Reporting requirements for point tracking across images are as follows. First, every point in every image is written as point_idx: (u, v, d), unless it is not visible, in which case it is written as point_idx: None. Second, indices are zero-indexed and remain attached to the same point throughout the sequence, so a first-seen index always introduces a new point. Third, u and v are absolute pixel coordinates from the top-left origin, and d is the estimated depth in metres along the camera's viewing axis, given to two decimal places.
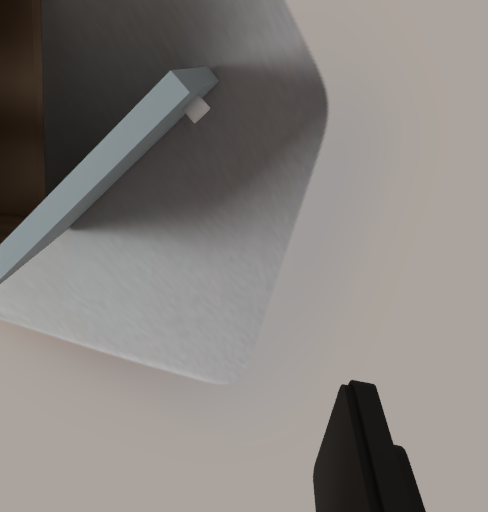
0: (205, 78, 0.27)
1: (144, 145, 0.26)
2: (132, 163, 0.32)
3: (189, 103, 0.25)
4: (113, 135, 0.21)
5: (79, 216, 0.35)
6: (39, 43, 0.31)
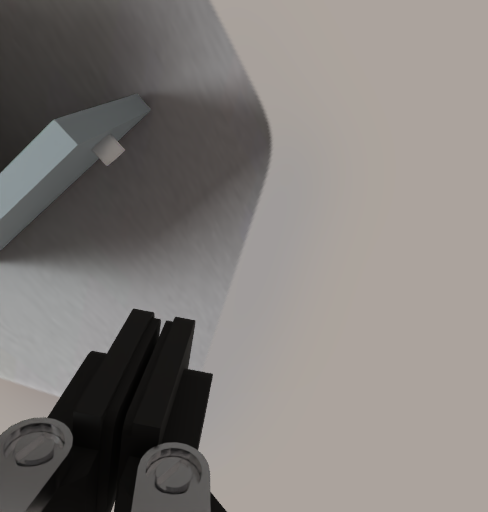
0: (123, 113, 0.24)
1: (50, 188, 0.23)
2: (53, 197, 0.29)
3: (98, 145, 0.22)
4: None
5: (1, 248, 0.32)
6: None
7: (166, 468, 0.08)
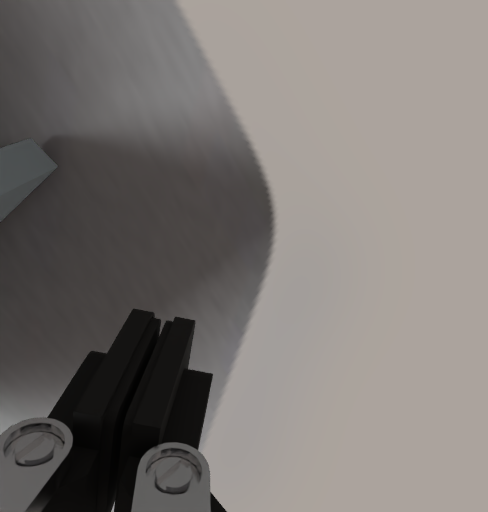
0: None
1: None
2: None
3: None
4: None
5: None
6: None
7: (166, 468, 0.08)
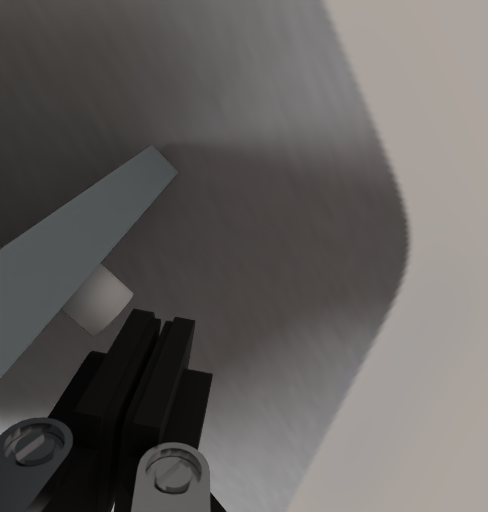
0: (127, 203, 0.11)
1: None
2: None
3: None
4: None
5: None
6: None
7: (166, 468, 0.08)
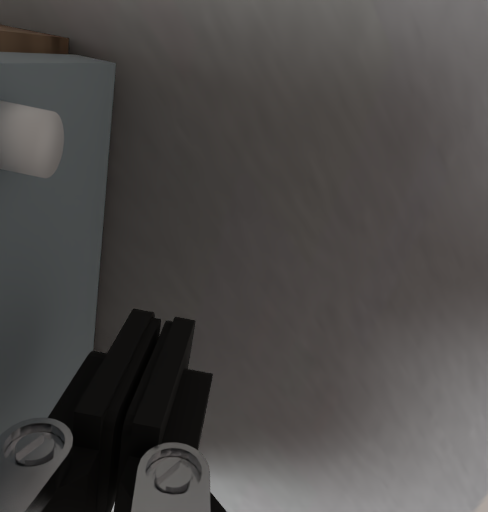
0: (24, 58, 0.10)
1: None
2: (76, 317, 0.15)
3: None
4: None
5: None
6: None
7: (166, 468, 0.08)
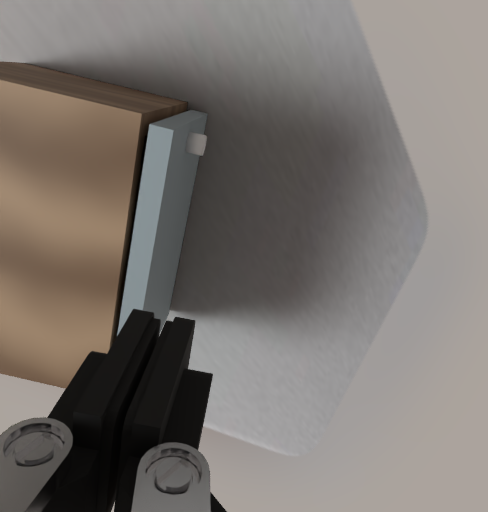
0: (190, 117, 0.29)
1: (176, 199, 0.28)
2: (183, 222, 0.34)
3: (187, 142, 0.27)
4: (141, 202, 0.24)
5: (172, 292, 0.38)
6: None
7: (166, 468, 0.08)
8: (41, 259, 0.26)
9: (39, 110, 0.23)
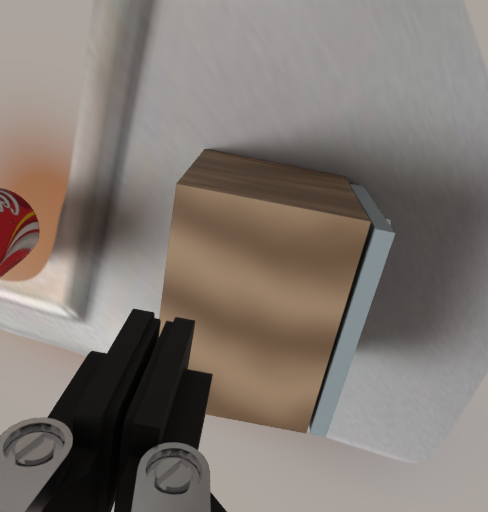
0: (368, 200, 0.35)
1: None
2: None
3: None
4: (361, 286, 0.30)
5: None
6: None
7: (166, 468, 0.08)
8: (271, 330, 0.32)
9: (287, 221, 0.29)
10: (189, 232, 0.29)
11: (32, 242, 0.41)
